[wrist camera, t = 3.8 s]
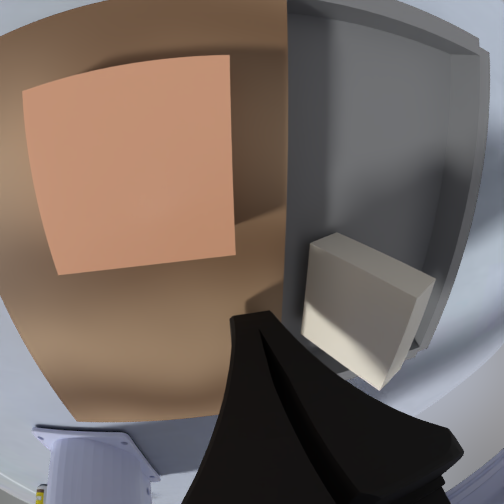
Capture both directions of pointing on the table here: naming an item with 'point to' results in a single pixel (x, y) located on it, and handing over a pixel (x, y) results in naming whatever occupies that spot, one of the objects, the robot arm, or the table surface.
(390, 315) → the tile cream
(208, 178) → the tile terracotta
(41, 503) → the supplement bottle
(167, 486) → the table surface
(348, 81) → the box
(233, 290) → the plate
